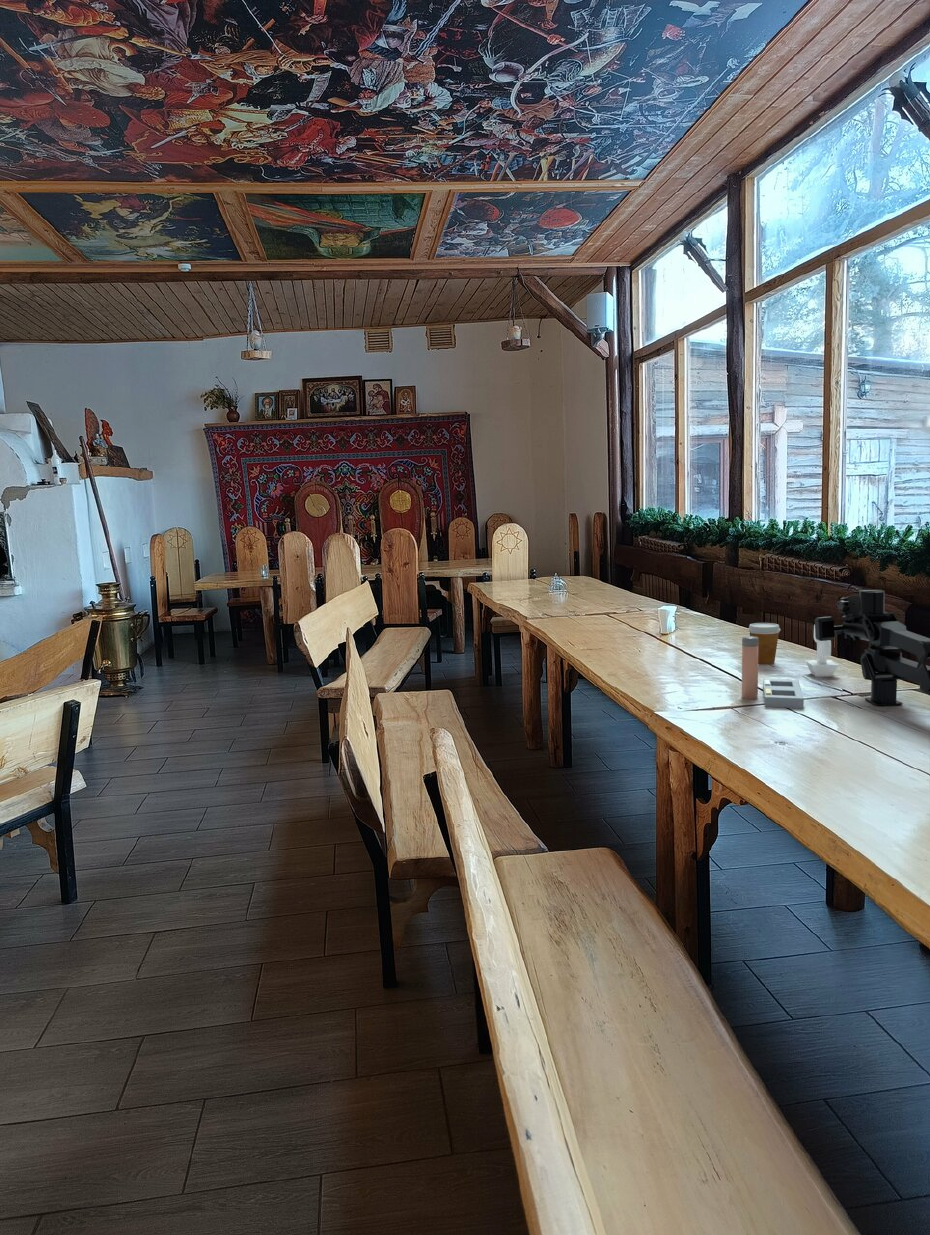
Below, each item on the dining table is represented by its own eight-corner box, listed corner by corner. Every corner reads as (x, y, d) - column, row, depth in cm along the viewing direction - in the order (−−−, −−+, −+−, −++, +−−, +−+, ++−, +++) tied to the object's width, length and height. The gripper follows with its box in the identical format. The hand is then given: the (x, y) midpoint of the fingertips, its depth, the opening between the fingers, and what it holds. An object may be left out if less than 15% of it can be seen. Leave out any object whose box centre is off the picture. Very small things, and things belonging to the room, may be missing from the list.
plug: (759, 698, 209) (760, 638, 207) (744, 699, 209) (745, 639, 207) (754, 695, 213) (755, 636, 211) (739, 695, 213) (740, 636, 211)
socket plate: (803, 708, 199) (803, 696, 198) (764, 706, 202) (765, 695, 201) (798, 689, 218) (798, 678, 217) (763, 687, 221) (763, 677, 220)
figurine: (813, 678, 228) (814, 626, 226) (803, 671, 238) (804, 621, 235) (840, 678, 227) (841, 626, 225) (828, 671, 237) (830, 621, 234)
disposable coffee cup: (741, 661, 255) (741, 624, 253) (766, 658, 257) (767, 621, 256) (760, 667, 246) (761, 628, 244) (786, 663, 248) (787, 625, 247)
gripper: (899, 594, 207) (866, 591, 223) (829, 601, 207) (800, 597, 222) (901, 637, 208) (868, 631, 224) (831, 644, 208) (802, 637, 223)
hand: (835, 623), depth 223 cm, fingers open, 9 cm apart
